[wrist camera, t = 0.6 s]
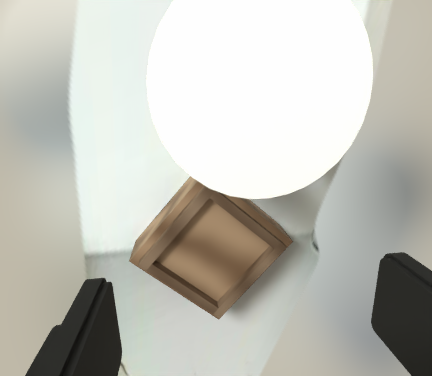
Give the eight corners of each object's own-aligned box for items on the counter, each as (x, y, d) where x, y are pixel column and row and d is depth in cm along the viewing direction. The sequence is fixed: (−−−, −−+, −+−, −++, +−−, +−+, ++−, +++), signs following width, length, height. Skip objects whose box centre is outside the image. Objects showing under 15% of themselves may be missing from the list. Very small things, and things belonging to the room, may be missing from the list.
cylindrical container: (225, 56, 32) (356, -79, 8) (242, 120, 34) (384, 163, 10) (162, 75, 32) (108, -5, 8) (183, 139, 34) (189, 225, 10)
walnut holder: (203, 161, 35) (207, 173, 29) (279, 224, 38) (296, 246, 32) (135, 240, 37) (127, 267, 31) (214, 293, 40) (220, 326, 34)
